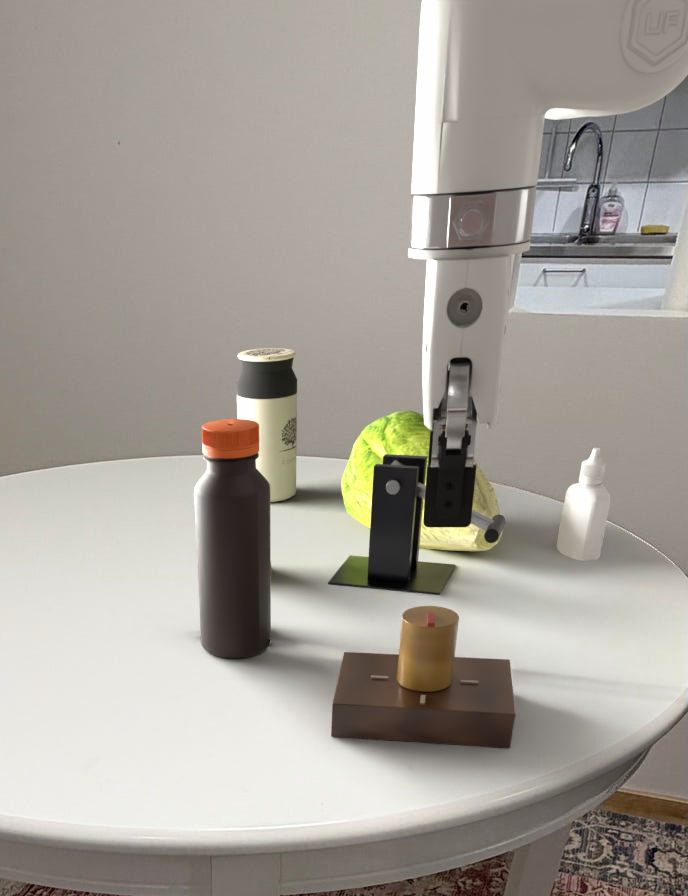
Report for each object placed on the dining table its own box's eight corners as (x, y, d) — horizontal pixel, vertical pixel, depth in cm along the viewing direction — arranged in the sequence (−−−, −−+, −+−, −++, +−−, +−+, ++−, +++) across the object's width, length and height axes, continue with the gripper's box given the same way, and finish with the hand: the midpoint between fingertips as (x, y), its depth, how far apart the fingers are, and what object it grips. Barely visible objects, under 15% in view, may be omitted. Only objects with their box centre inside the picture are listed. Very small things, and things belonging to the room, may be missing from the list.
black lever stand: (454, 575, 106) (468, 453, 98) (439, 604, 99) (452, 476, 91) (349, 565, 109) (354, 447, 102) (327, 593, 103) (331, 469, 95)
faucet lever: (498, 534, 99) (511, 513, 98) (491, 550, 96) (504, 528, 94) (387, 477, 100) (398, 456, 99) (376, 490, 97) (386, 468, 95)
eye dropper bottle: (556, 568, 106) (576, 454, 99) (554, 552, 110) (573, 442, 103) (598, 570, 105) (621, 455, 98) (594, 553, 109) (616, 442, 102)
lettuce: (410, 593, 104) (455, 467, 96) (315, 506, 121) (346, 391, 112) (517, 597, 110) (568, 478, 102) (413, 513, 127) (449, 405, 118)
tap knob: (397, 667, 80) (402, 601, 77) (450, 669, 79) (458, 602, 76) (396, 691, 77) (402, 622, 73) (452, 693, 76) (460, 624, 72)
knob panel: (505, 691, 82) (510, 657, 80) (510, 748, 74) (515, 712, 73) (342, 682, 85) (344, 649, 83) (330, 736, 77) (332, 701, 75)
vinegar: (191, 639, 94) (179, 422, 83) (253, 626, 96) (250, 412, 84) (217, 665, 89) (208, 438, 77) (282, 651, 91) (283, 427, 79)
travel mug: (227, 496, 134) (223, 354, 124) (267, 484, 138) (266, 345, 128) (268, 507, 129) (267, 359, 119) (307, 494, 133) (310, 350, 123)
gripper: (542, 233, 52) (504, 544, 62) (524, 214, 66) (496, 472, 76) (403, 241, 54) (388, 543, 64) (414, 221, 67) (400, 473, 77)
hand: (447, 504), depth 70 cm, fingers open, 9 cm apart
